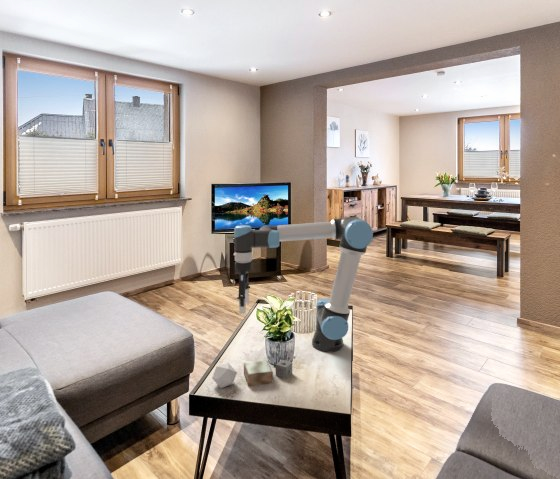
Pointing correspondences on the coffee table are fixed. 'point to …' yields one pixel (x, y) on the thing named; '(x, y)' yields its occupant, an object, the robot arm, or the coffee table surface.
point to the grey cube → (284, 369)
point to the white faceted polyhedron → (224, 375)
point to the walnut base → (258, 373)
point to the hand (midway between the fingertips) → (244, 307)
